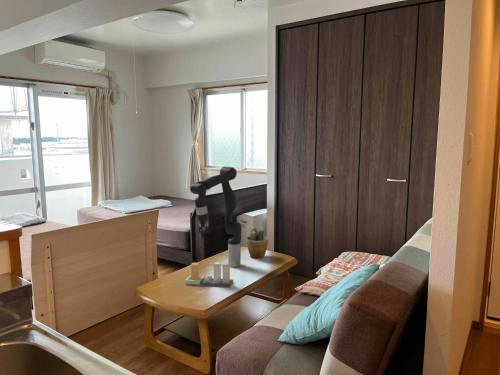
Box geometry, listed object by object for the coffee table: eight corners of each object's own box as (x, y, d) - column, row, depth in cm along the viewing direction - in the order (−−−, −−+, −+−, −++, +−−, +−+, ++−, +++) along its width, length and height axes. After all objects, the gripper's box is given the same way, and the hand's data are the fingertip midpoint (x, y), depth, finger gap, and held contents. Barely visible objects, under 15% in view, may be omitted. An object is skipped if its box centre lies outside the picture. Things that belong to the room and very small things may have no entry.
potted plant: (241, 258, 302) (241, 227, 299) (254, 252, 317) (253, 223, 314) (260, 262, 291) (260, 230, 288) (272, 255, 307) (272, 225, 304)
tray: (190, 279, 256) (190, 274, 255) (204, 280, 254) (204, 275, 253) (185, 284, 246) (185, 280, 246) (199, 285, 244) (199, 281, 244)
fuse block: (205, 280, 253) (205, 274, 253) (233, 282, 249) (233, 276, 249) (201, 285, 244) (201, 279, 244) (229, 287, 241) (229, 281, 240)
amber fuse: (193, 280, 252) (192, 262, 250) (198, 280, 251) (198, 263, 250) (191, 281, 249) (191, 264, 247) (197, 282, 248) (196, 264, 246)
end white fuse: (224, 280, 247) (223, 262, 246) (230, 281, 247) (229, 263, 245) (222, 282, 244) (222, 264, 243) (228, 282, 243) (228, 264, 242)
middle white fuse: (215, 279, 249) (215, 262, 247) (221, 280, 248) (220, 262, 246) (213, 281, 245) (213, 263, 244) (219, 282, 245) (219, 264, 243)
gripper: (200, 209, 258) (204, 231, 262) (192, 216, 244) (196, 239, 248) (210, 208, 256) (214, 231, 260) (203, 216, 242) (207, 239, 246)
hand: (205, 235), depth 254 cm, fingers open, 8 cm apart
